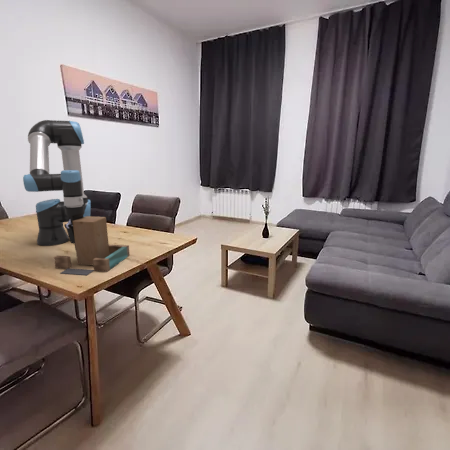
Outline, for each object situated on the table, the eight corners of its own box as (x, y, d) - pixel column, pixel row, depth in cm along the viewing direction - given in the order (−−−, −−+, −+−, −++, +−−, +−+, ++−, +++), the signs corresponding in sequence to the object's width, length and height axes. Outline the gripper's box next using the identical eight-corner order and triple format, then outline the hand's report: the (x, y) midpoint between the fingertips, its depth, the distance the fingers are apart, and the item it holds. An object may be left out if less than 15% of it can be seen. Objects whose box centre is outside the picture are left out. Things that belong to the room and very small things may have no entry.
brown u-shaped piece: (55, 268, 124) (53, 257, 122) (84, 252, 143) (83, 243, 142) (107, 271, 120) (106, 260, 119) (129, 255, 140) (128, 245, 138)
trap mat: (60, 273, 118) (60, 272, 118) (68, 268, 123) (68, 268, 123) (87, 275, 116) (86, 274, 116) (94, 270, 121) (94, 269, 121)
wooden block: (97, 266, 126) (93, 221, 121) (77, 264, 128) (71, 220, 123) (110, 258, 136) (106, 216, 131) (91, 256, 137) (86, 215, 132)
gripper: (72, 208, 119) (78, 262, 125) (91, 203, 132) (96, 252, 138) (56, 208, 121) (63, 261, 126) (76, 203, 133) (82, 251, 139)
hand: (80, 256), depth 132 cm, fingers closed
